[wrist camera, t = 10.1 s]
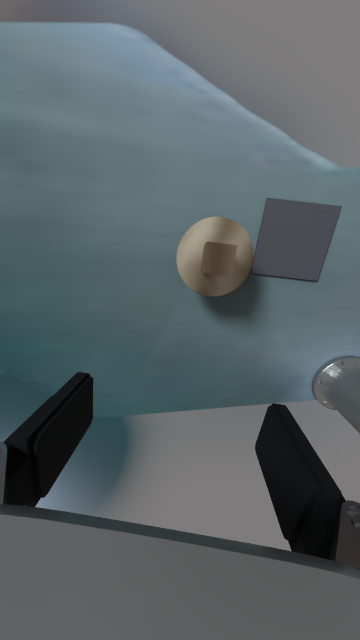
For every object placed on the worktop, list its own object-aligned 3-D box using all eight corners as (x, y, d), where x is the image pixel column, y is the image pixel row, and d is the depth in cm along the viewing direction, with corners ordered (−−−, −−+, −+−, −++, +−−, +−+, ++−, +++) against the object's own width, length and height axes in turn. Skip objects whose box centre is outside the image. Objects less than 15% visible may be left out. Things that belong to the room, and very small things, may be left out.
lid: (259, 223, 27) (277, 214, 22) (242, 299, 31) (254, 309, 25) (181, 213, 27) (179, 201, 22) (173, 290, 31) (169, 297, 25)
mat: (339, 207, 32) (341, 206, 32) (316, 280, 36) (317, 280, 35) (266, 198, 32) (267, 197, 32) (250, 272, 36) (251, 273, 35)
